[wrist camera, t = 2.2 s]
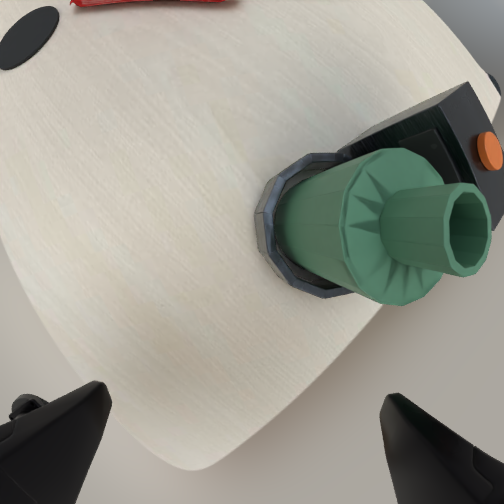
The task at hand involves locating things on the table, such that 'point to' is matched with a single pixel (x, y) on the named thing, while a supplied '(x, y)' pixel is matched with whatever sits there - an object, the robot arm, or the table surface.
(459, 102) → the machine
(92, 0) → the candy bar
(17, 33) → the coaster
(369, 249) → the bottle
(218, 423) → the table surface
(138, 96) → the table surface
